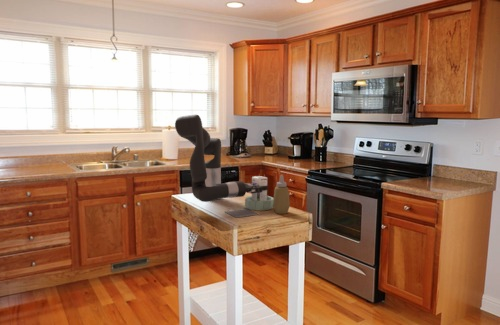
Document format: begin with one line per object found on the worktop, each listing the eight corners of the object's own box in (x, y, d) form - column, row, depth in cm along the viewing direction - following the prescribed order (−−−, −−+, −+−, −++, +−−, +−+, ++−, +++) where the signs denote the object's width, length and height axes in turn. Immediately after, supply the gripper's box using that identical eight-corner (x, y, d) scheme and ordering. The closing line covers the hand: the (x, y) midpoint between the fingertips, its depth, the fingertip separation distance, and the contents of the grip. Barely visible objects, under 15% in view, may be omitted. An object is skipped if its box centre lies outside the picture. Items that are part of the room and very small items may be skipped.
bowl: (240, 205, 200) (240, 197, 200) (263, 202, 207) (263, 194, 207) (254, 211, 188) (254, 202, 188) (278, 208, 195) (279, 199, 195)
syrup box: (250, 205, 198) (251, 176, 196) (260, 203, 202) (260, 175, 200) (258, 207, 194) (258, 178, 192) (267, 205, 197) (267, 177, 195)
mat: (224, 212, 187) (224, 211, 187) (246, 209, 193) (246, 208, 193) (236, 217, 177) (236, 217, 177) (259, 214, 183) (259, 213, 183)
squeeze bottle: (283, 209, 192) (284, 173, 190) (293, 213, 185) (293, 175, 183) (269, 211, 188) (269, 174, 186) (278, 215, 181) (279, 176, 179)
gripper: (241, 184, 183) (270, 181, 191) (227, 179, 195) (255, 177, 203) (241, 200, 184) (270, 196, 192) (227, 194, 196) (255, 191, 204)
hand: (263, 186), depth 198 cm, fingers open, 7 cm apart
